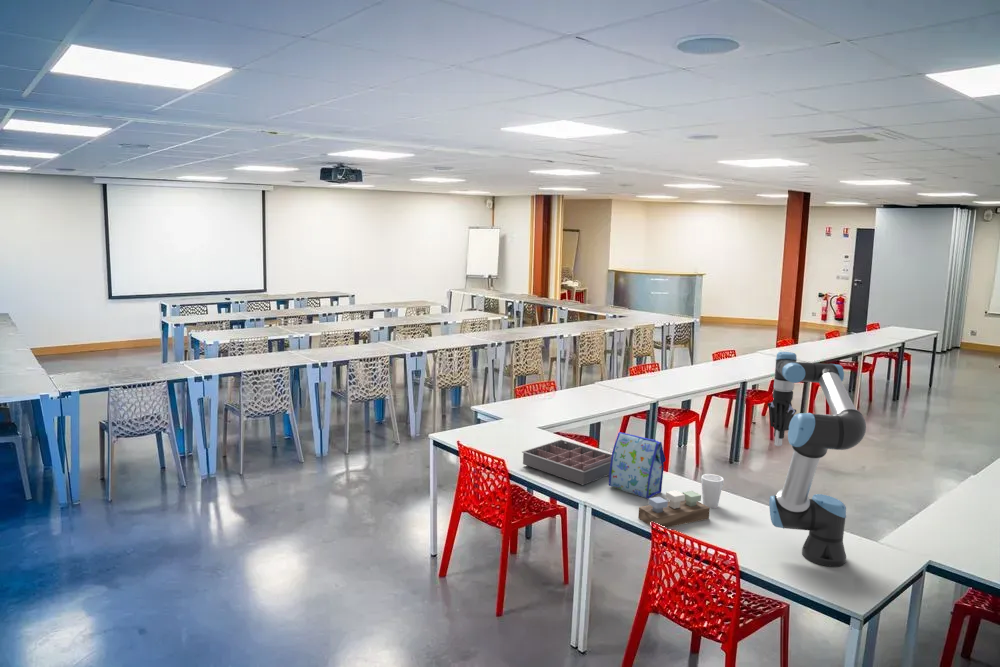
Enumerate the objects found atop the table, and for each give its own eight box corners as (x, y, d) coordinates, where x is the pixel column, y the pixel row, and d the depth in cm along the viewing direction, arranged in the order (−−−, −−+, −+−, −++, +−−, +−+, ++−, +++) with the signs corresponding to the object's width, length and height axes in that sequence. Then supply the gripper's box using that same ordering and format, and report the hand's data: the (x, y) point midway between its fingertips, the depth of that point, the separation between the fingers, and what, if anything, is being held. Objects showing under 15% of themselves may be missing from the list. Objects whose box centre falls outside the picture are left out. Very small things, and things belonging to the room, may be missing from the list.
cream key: (684, 508, 287) (685, 494, 286) (673, 510, 285) (674, 496, 284) (675, 503, 292) (676, 490, 291) (665, 505, 290) (666, 492, 289)
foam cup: (706, 510, 299) (708, 482, 297) (695, 502, 308) (697, 474, 306) (725, 508, 301) (727, 480, 299) (713, 500, 310) (716, 473, 308)
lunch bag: (665, 491, 320) (669, 437, 316) (648, 501, 307) (652, 445, 303) (623, 479, 334) (626, 427, 330) (606, 488, 321) (609, 435, 317)
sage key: (700, 508, 291) (701, 495, 290) (690, 510, 289) (691, 497, 288) (691, 503, 296) (692, 490, 295) (681, 505, 294) (682, 492, 293)
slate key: (666, 515, 283) (667, 501, 282) (656, 517, 281) (657, 503, 280) (658, 510, 288) (659, 496, 287) (647, 512, 286) (648, 498, 285)
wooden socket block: (708, 518, 290) (709, 507, 289) (656, 529, 278) (657, 518, 277) (689, 508, 300) (690, 497, 300) (638, 518, 288) (639, 507, 288)
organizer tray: (560, 453, 371) (561, 435, 369) (622, 472, 343) (623, 453, 342) (520, 466, 348) (521, 447, 346) (583, 488, 320) (584, 468, 319)
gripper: (803, 392, 274) (797, 449, 277) (777, 385, 285) (772, 439, 289) (789, 393, 270) (784, 451, 274) (764, 386, 282) (759, 441, 286)
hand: (778, 445), depth 281 cm, fingers closed
